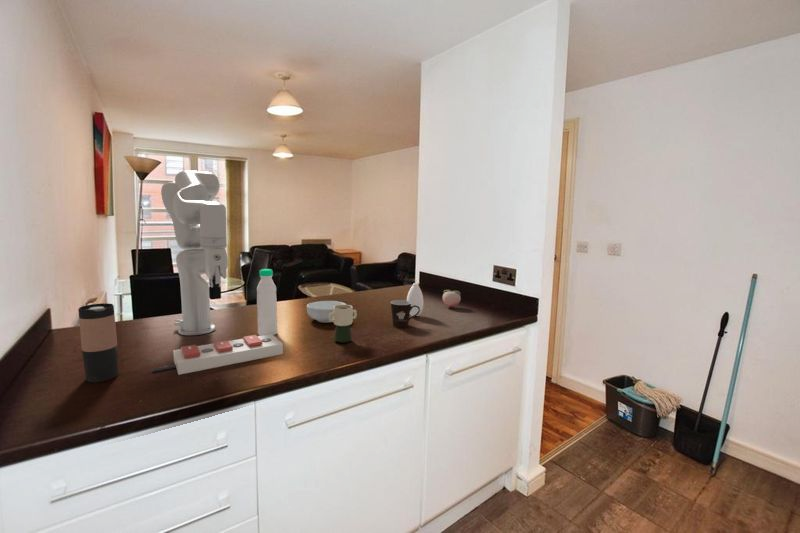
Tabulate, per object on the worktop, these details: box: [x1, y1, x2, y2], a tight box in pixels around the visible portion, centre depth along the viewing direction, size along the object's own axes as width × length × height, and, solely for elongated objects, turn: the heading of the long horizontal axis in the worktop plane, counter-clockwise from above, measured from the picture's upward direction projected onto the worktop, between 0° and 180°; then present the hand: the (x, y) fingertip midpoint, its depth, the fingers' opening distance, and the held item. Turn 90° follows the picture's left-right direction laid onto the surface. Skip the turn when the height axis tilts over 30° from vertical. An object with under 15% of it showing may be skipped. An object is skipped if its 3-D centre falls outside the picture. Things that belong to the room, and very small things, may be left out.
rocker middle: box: [213, 340, 233, 352], centre depth 119 cm, size 4×8×1 cm, turn 36°
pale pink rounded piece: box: [442, 289, 462, 309], centre depth 191 cm, size 9×8×10 cm
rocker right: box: [242, 334, 262, 347], centre depth 124 cm, size 4×8×1 cm, turn 36°
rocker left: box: [180, 344, 200, 358], centre depth 114 cm, size 4×8×1 cm, turn 36°
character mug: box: [329, 304, 358, 343], centre depth 137 cm, size 11×7×13 cm, turn 122°
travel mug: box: [77, 302, 120, 383], centre depth 103 cm, size 8×8×20 cm
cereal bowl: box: [306, 300, 347, 324], centre depth 164 cm, size 17×17×7 cm
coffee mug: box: [390, 299, 420, 329], centre depth 158 cm, size 12×9×10 cm
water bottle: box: [256, 268, 278, 336], centre depth 142 cm, size 7×7×25 cm
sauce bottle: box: [406, 278, 424, 317], centre depth 173 cm, size 8×8×18 cm
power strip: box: [151, 334, 284, 376], centre depth 119 cm, size 36×12×4 cm, turn 126°
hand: (215, 298), depth 123 cm, fingers closed
